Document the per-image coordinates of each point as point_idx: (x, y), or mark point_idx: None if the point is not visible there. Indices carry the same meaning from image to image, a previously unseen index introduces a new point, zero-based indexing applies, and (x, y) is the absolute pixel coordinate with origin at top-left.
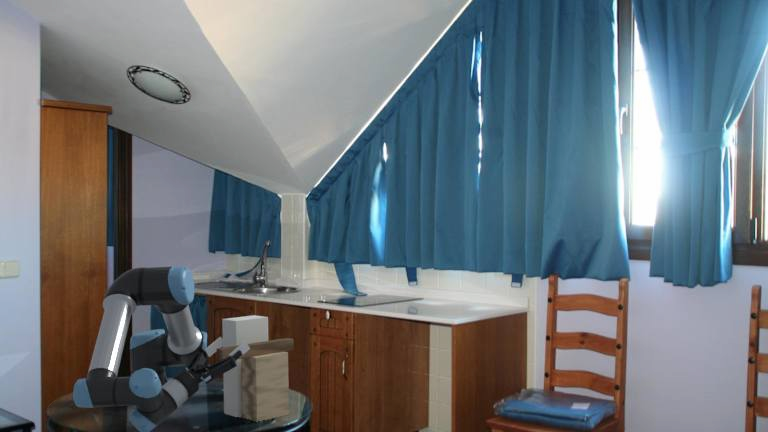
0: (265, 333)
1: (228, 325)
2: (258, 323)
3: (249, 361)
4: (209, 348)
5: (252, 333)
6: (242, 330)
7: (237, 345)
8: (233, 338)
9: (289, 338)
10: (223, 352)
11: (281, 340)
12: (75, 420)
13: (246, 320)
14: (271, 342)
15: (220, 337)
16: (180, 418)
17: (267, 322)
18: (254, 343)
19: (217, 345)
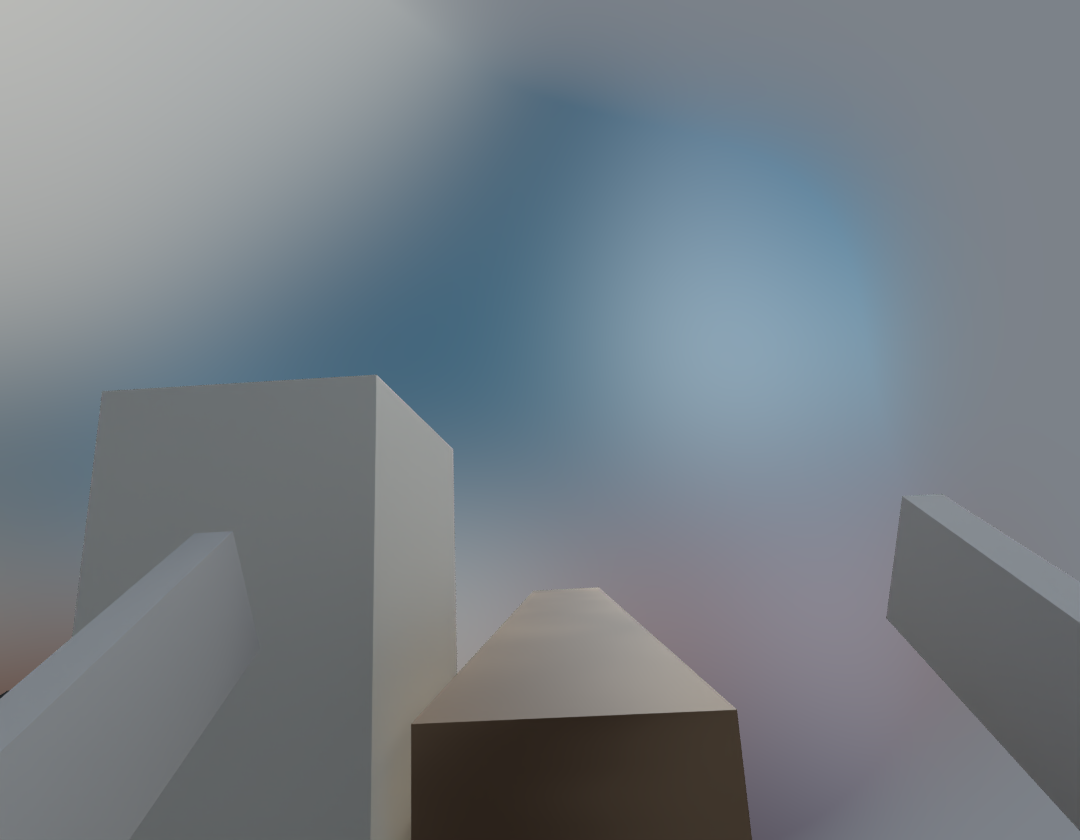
0: (450, 558)
1: (219, 443)
2: (436, 472)
3: None
4: (18, 780)
5: (425, 542)
6: (397, 494)
7: (494, 636)
8: (310, 579)
9: (563, 589)
10: (742, 784)
11: (592, 592)
12: None
13: (409, 413)
14: (610, 599)
15: (221, 537)
16: None
17: (452, 484)
18: (545, 612)
19: (176, 679)
